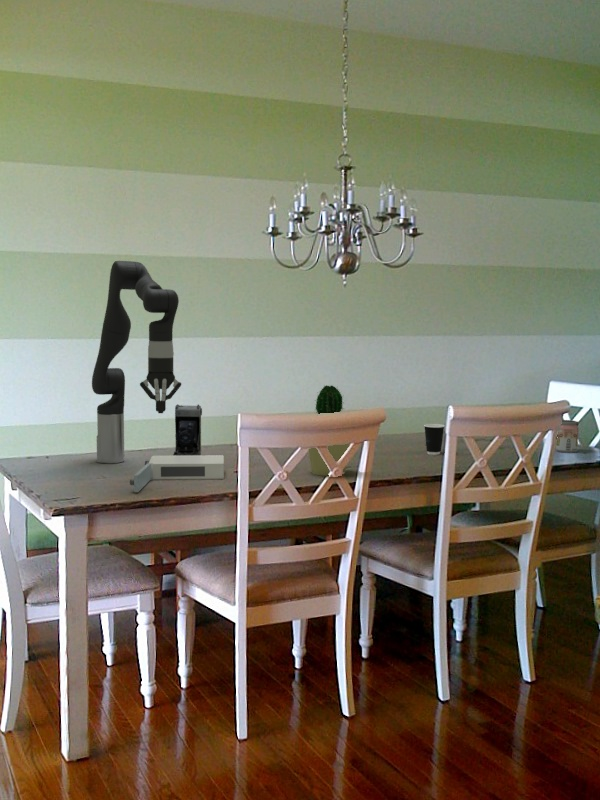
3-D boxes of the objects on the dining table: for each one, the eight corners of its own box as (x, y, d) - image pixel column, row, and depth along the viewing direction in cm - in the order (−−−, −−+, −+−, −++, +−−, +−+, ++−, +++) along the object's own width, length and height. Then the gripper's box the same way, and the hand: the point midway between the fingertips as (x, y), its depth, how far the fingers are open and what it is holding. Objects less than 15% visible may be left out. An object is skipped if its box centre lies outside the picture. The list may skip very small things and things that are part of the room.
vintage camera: (170, 466, 304) (171, 409, 302) (175, 456, 320) (175, 403, 317) (198, 466, 305) (199, 410, 302) (201, 457, 320) (202, 404, 317)
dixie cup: (419, 453, 332) (419, 425, 331) (431, 451, 338) (432, 423, 336) (435, 456, 326) (436, 427, 325) (448, 453, 332) (449, 425, 331)
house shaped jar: (554, 448, 346) (555, 419, 345) (576, 449, 344) (577, 419, 343) (556, 452, 337) (557, 421, 336) (578, 453, 335) (580, 422, 334)
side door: (142, 478, 277) (142, 462, 277) (153, 478, 277) (153, 463, 277) (128, 492, 256) (128, 475, 256) (140, 492, 256) (140, 475, 256)
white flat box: (143, 479, 277) (143, 464, 277) (147, 470, 293) (147, 455, 293) (223, 478, 279) (223, 463, 279) (223, 469, 295) (223, 455, 295)
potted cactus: (306, 477, 284) (306, 385, 281) (304, 468, 299) (305, 381, 296) (353, 477, 284) (354, 385, 281) (349, 468, 299) (350, 381, 296)
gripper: (137, 356, 257) (137, 414, 259) (182, 357, 258) (182, 414, 260) (139, 354, 265) (140, 411, 267) (183, 355, 266) (183, 411, 268)
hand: (160, 412), depth 264 cm, fingers closed
